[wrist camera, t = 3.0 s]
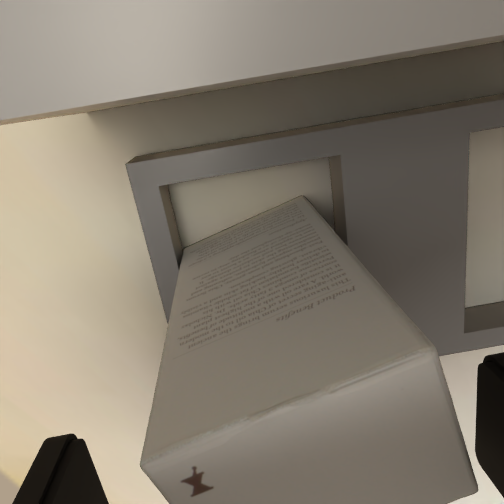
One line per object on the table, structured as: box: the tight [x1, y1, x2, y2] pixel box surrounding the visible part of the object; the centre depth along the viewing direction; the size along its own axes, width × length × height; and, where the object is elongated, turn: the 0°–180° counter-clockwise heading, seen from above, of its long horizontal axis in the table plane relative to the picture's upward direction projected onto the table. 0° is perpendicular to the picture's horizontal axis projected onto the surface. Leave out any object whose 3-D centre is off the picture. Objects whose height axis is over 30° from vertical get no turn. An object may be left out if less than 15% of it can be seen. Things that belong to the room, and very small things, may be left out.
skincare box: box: [140, 196, 478, 504], centre depth 14 cm, size 6×4×12 cm
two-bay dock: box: [0, 0, 504, 356], centre depth 13 cm, size 24×15×12 cm, turn 99°
